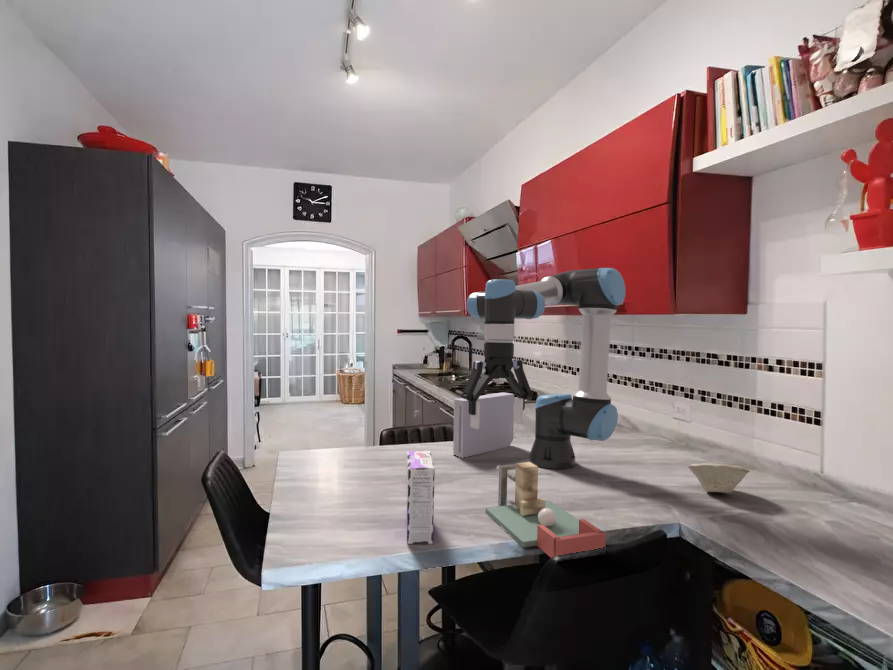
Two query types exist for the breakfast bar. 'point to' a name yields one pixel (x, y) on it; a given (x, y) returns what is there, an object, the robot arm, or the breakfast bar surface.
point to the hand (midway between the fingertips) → (497, 425)
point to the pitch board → (532, 523)
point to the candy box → (420, 497)
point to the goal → (570, 540)
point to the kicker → (526, 488)
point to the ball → (547, 517)
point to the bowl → (718, 476)
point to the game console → (483, 425)
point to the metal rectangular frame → (503, 483)
